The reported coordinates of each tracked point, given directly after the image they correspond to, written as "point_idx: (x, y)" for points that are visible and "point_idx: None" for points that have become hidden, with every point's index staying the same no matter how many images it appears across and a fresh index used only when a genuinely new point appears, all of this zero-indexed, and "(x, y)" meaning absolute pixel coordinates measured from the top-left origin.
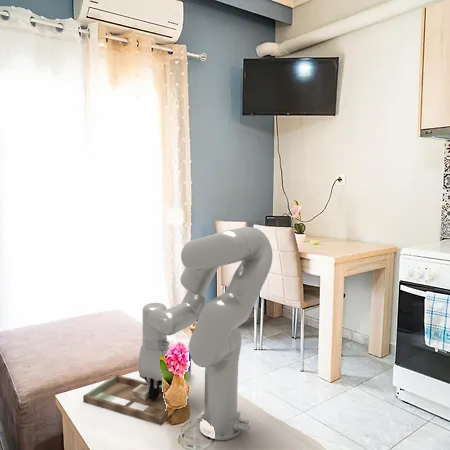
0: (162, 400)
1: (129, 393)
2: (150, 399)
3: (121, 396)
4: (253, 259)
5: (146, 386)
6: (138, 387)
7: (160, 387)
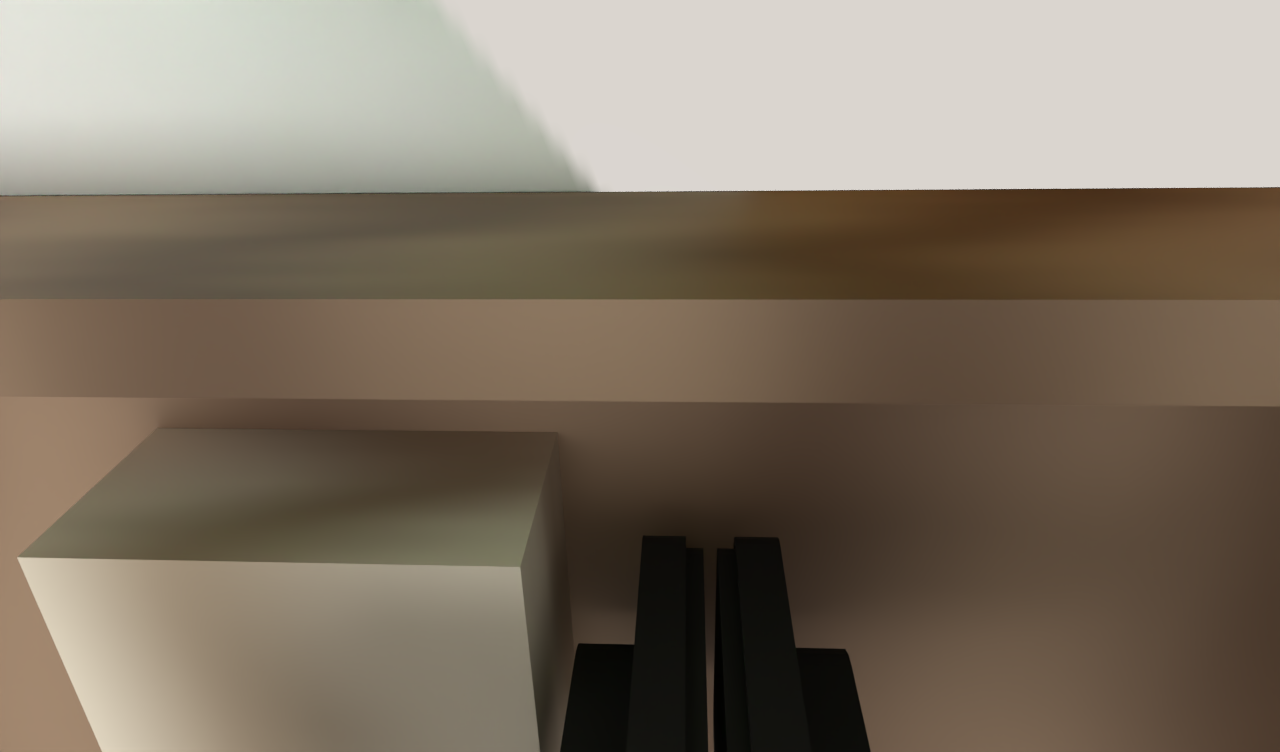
0: (924, 561)
1: (35, 604)
2: (628, 623)
3: (24, 737)
4: None
5: (278, 606)
6: (139, 726)
7: (677, 384)
